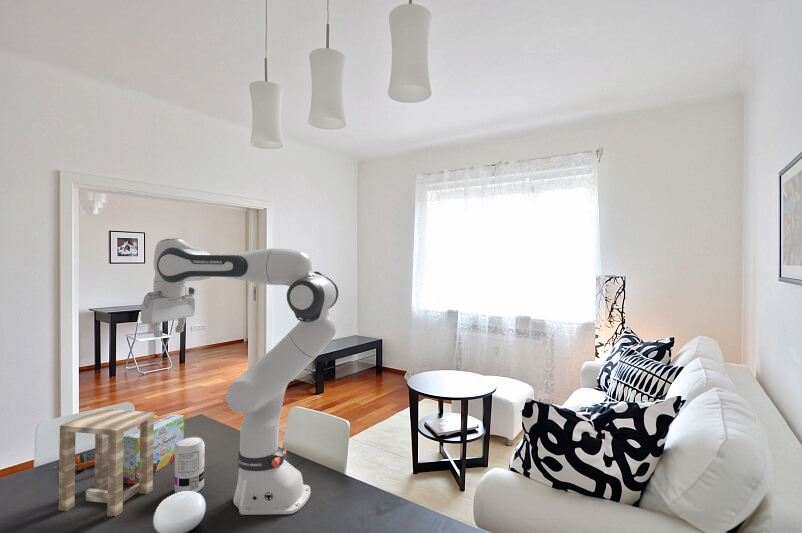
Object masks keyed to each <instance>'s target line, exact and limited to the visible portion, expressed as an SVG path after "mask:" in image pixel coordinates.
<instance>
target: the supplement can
mask: <svg viewBox="0 0 802 533" xmlns="http://www.w3.org/2000/svg"><path fill="white" fill-rule="evenodd" d="M205 445H206V444H205V442H204V440H203V438H202V437H200V436H189V437H185V438H183V439H182V440H180V441H179V442H178V443H177V446H176V448H175V460H174V473H173V474H174V480H173V481H174V482H173V484H174V486H173V488H174V489H173V490H174V492H175V494H177V492H181V491H196V492H197V493H198V492H199V491H201V489H203V487H204V486H205V451H206V450H205V448H206V447H205Z"/></svg>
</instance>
